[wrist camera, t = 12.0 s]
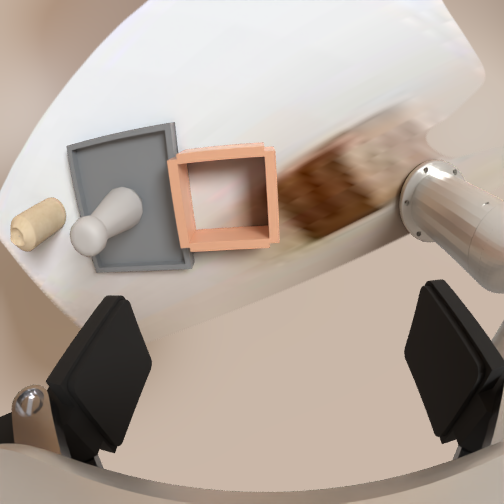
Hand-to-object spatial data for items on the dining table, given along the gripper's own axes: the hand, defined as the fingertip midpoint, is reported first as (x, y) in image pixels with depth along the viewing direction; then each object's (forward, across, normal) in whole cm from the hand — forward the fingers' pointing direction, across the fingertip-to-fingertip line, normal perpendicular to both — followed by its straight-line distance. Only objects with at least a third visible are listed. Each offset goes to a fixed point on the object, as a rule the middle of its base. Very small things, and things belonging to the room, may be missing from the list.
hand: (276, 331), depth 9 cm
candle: (+30, +35, +3) cm, 46 cm away
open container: (+31, +6, +3) cm, 32 cm away
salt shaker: (+30, +20, +3) cm, 36 cm away
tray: (+31, +20, +3) cm, 37 cm away
